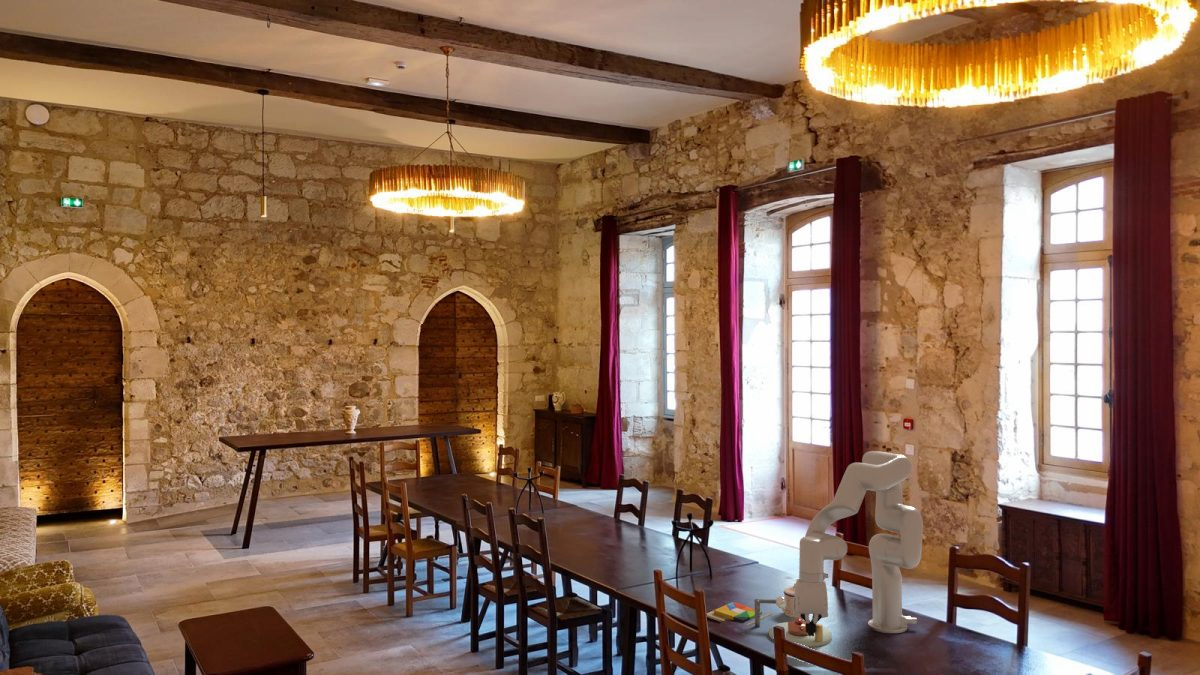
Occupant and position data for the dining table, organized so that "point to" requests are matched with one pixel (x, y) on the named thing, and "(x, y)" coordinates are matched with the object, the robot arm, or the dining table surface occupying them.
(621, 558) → the dining table surface
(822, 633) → the turntable
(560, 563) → the dining table surface
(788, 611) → the teacup with lid
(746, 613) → the wooden puzzle
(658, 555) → the dining table surface
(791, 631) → the cover
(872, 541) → the robot arm
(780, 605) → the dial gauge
